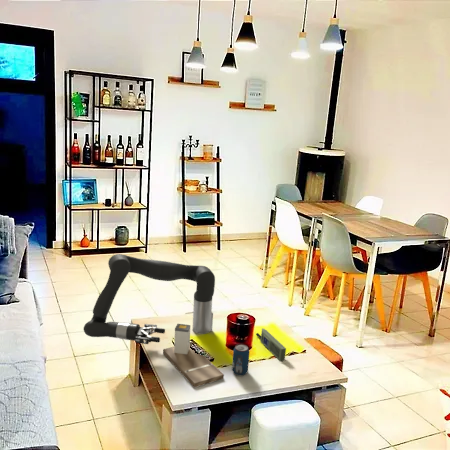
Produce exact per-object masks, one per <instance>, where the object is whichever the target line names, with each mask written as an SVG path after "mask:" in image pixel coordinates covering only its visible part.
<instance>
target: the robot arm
mask: <svg viewBox="0 0 450 450" xmlns="http://www.w3.org/2000/svg"><path fill="white" fill-rule="evenodd" d="M107 264H108V267H109V270H110V271H109V274H108V275H109V276H108V279H107V282H106V284H105V286H104V287H103V289H102V290H101V292H100V294H99V296H98V297H97V300H96V302H95V304H94V307H93V309H92V314H93V315H92V318H91V320H89V321H87V322H86V323H85V324H84V326H83V333H85V335H86V336H87V337H92V338H106V337H107V338H115V339H119V340H126V341H132V342H133V341H135V343H137V344H144V345H149V344H150V343H160V342H161V338H160V337H158V336H151V335H153V334H154V333H156V334H165V333H166V329H165V328H162V327H158V325H157V324H151V323H150V324H149V323H144V325H143V326H140V324H138V323H132V322H119V321H117V322H116V321H108V322H106V321H107V318H108V314H109V312H110V309H111V307H112V304H113V302H114V300H115V298H116V296H117V293H118V292H119V290H120V288H121V285H122V284H123V283H124V281H125V280H126V278H127V277H128V275H129V273H133V274H138V275H141V276H144V277H146V278H149V279H152V280H157V281H161V282H172V281H179V280H188V281H193V282H195V283H196V291H195V292H194V294H193V311H192V332H194V333H196V334H198V335H199V334H200V335H205V334H208V333H210V332H211V331H213V323H214V312H212V311H213V310H212V309H213V307H212V306H213V297H214V293H215V285H216V277H215V274H214V273H213V271H212V270H211V269H210V267H207V266H205V265H192V264H191V265H188V264H182V263H176V262H172V261H171V262H170V261H165V260H155V259H146V258H137V257H134V256H130V255H126V254H121V253H117V254H113V255H112V256H111V257H110V258H109V259H108V263H107Z"/></svg>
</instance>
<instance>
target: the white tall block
mask: <svg viewBox="0 0 450 450" xmlns="http://www.w3.org/2000/svg"><path fill="white" fill-rule="evenodd" d="M190 341H191V325H190V324H183V323H177V324H176V326H175V327H174V342H173V344H174V345H173V347H174V353H180V354H187V353H188V351H189V347H190V343H191V342H190Z"/></svg>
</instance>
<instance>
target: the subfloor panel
mask: <svg viewBox="0 0 450 450" xmlns="http://www.w3.org/2000/svg"><path fill="white" fill-rule="evenodd" d="M162 354H163V355H164V356H165V358H167V359H168V360H169V361H170V362H171V364H172V365H173V366H174V367H175V368H176V369H177V370H178V372H180V373H181V375H183V377H184V378H185V379H186V381H188V382H189V383H190V385H191V386H192V387H193V388H198V387H200V386H203V385H204V386H205V385H207V384H210V383H213V382H217V381H220V380H223V379H224V376H225V374H224V373H223V372H222V371H221V370H220V369H219V368H217V366H216V365H214V363H212V362H211V361H210V360H209V359H208V358H207V357H206V356H205V355H204V354H203V355H204V356H203V355H200V354H197V353H195V351H194V350H192V349H191V348H190V347H189V351H188V353H187V354H180V353H174V346H172V347H171V346H170V347H166V348H163V349H162Z"/></svg>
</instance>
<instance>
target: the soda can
mask: <svg viewBox="0 0 450 450" xmlns="http://www.w3.org/2000/svg"><path fill="white" fill-rule="evenodd" d="M232 351H233V352H232V364H231V371H232V372H233V374H234V375H235V376H238V377H241V376H245V375H246V374H247V373H248V371H249V364H250V363H249V361H250V349H249V347H248V345H246V344H243V343H238V344H236V345H235V346H234V348H233V350H232Z"/></svg>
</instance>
